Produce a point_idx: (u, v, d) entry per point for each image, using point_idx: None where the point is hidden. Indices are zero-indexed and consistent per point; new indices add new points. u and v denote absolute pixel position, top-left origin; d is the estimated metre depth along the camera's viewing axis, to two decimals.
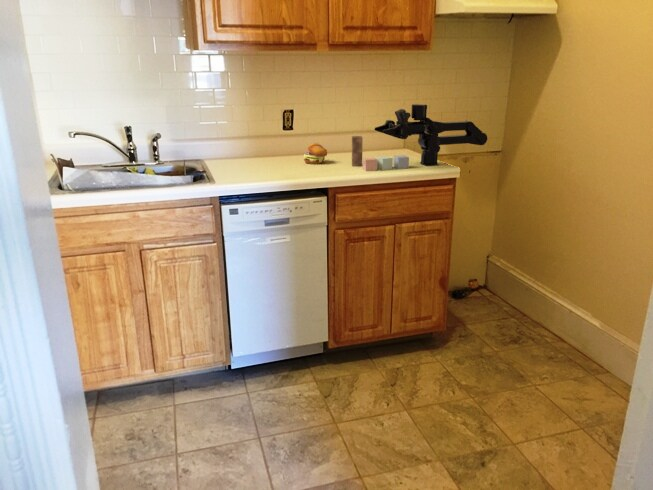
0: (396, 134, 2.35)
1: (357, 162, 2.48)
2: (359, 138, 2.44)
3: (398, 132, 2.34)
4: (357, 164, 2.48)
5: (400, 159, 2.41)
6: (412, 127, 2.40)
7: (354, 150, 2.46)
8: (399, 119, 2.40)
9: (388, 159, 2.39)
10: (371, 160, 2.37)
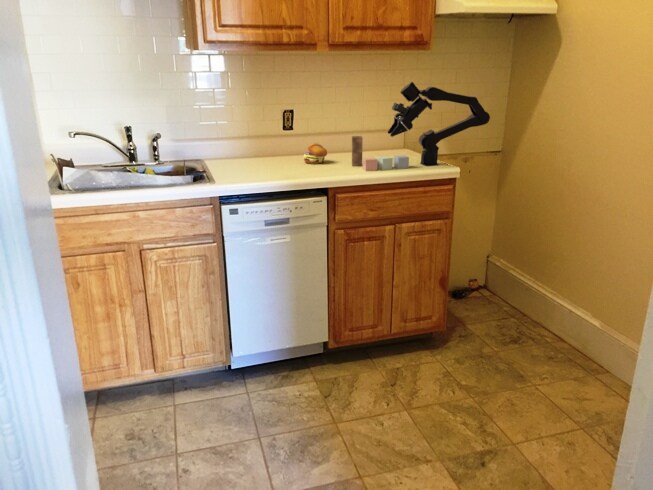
0: (403, 129, 2.39)
1: (357, 162, 2.48)
2: (359, 138, 2.44)
3: (403, 126, 2.38)
4: (357, 164, 2.48)
5: (400, 159, 2.41)
6: (413, 110, 2.40)
7: (354, 150, 2.46)
8: None
9: (388, 159, 2.39)
10: (371, 160, 2.37)
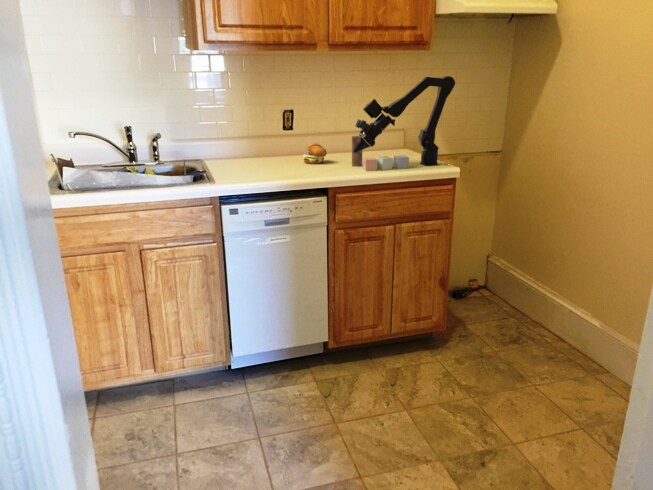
0: (365, 145, 2.43)
1: (357, 162, 2.48)
2: (359, 138, 2.44)
3: (365, 142, 2.42)
4: (357, 164, 2.48)
5: (400, 159, 2.41)
6: (376, 127, 2.42)
7: (353, 150, 2.46)
8: None
9: (388, 159, 2.39)
10: (371, 160, 2.37)
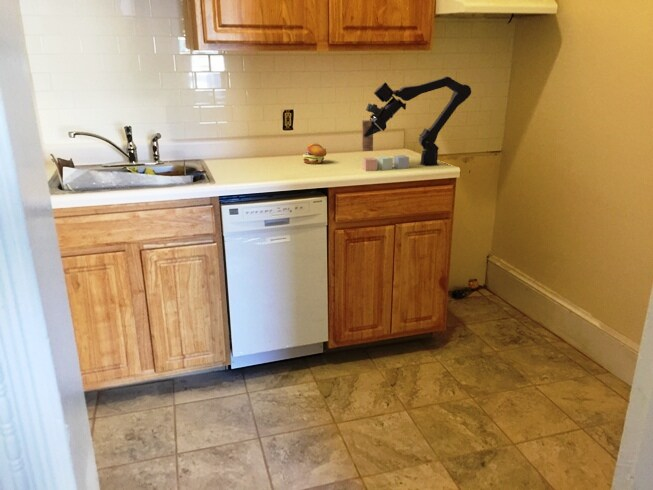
0: (376, 129, 2.41)
1: (368, 147, 2.45)
2: (370, 122, 2.42)
3: (376, 127, 2.40)
4: (368, 149, 2.46)
5: (400, 159, 2.41)
6: (387, 111, 2.40)
7: None
8: None
9: (388, 159, 2.39)
10: (371, 160, 2.37)
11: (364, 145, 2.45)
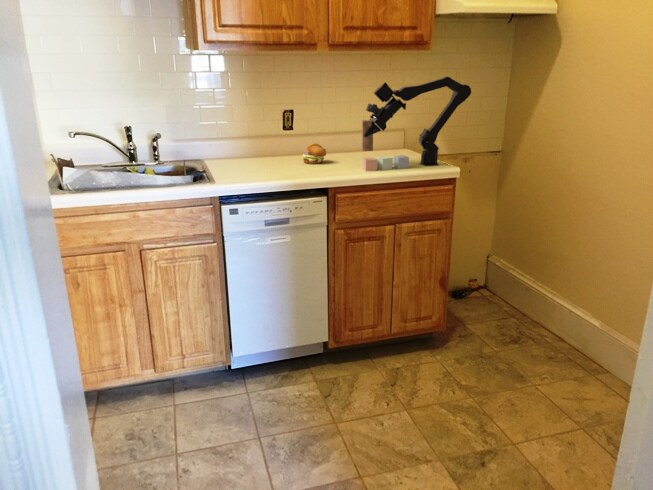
0: (376, 129, 2.41)
1: (368, 147, 2.45)
2: (370, 122, 2.42)
3: (376, 127, 2.40)
4: (368, 149, 2.46)
5: (400, 159, 2.41)
6: (387, 111, 2.40)
7: None
8: None
9: (388, 159, 2.39)
10: (371, 160, 2.37)
11: (364, 145, 2.45)
